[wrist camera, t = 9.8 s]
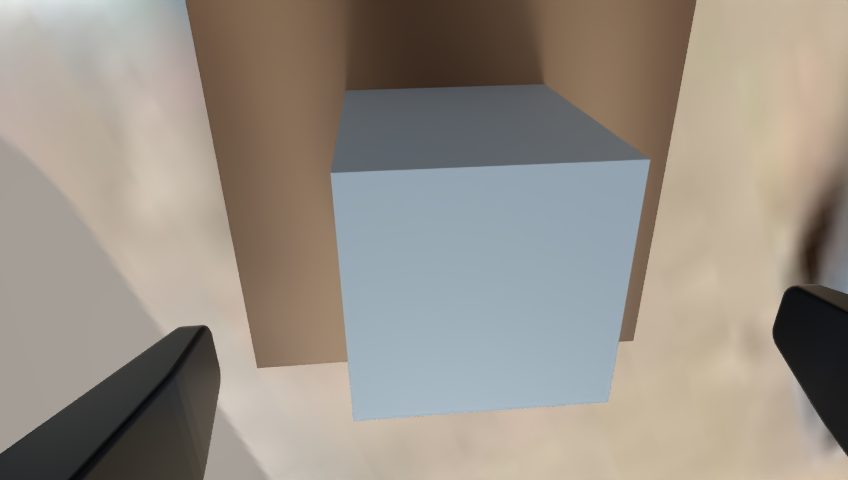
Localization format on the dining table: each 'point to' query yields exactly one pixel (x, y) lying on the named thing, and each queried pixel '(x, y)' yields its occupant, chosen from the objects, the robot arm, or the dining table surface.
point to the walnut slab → (401, 69)
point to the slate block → (481, 248)
